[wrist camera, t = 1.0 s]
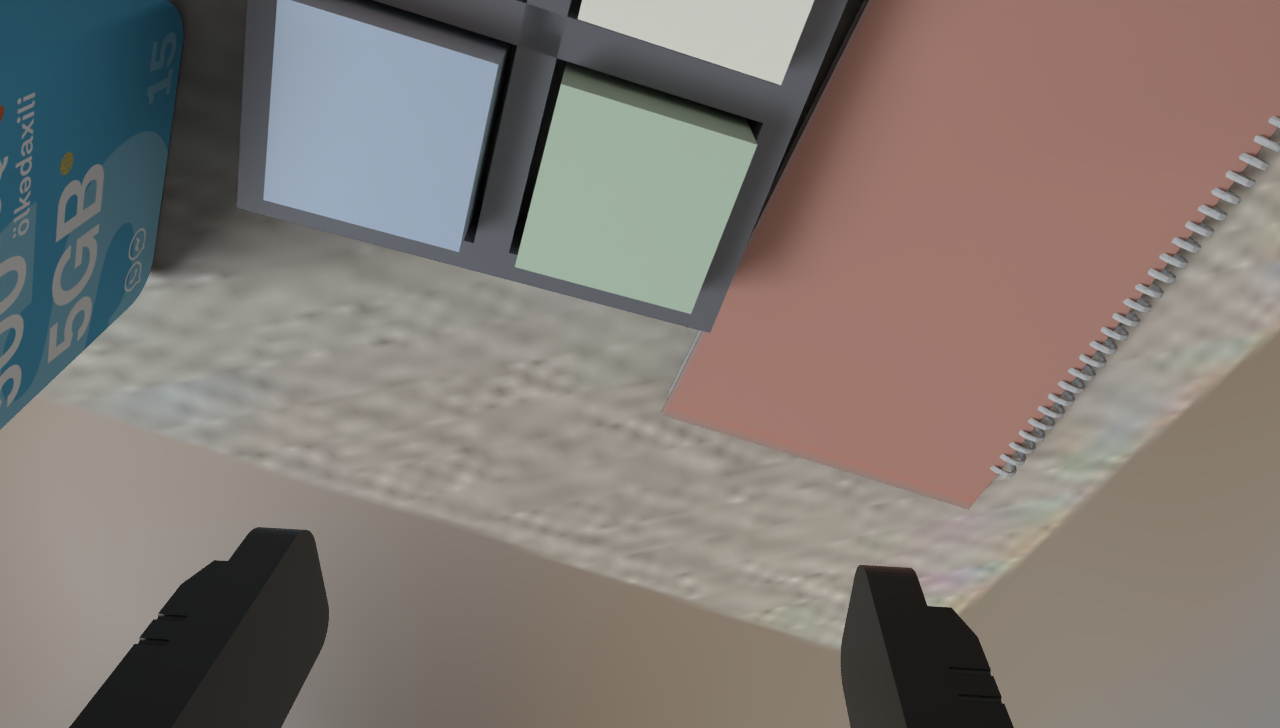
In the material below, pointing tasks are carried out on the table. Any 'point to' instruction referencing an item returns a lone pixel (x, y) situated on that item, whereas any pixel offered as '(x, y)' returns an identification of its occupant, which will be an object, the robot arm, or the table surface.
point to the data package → (78, 173)
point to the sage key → (633, 189)
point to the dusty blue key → (381, 117)
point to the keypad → (540, 47)
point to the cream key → (712, 29)
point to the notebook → (978, 226)
